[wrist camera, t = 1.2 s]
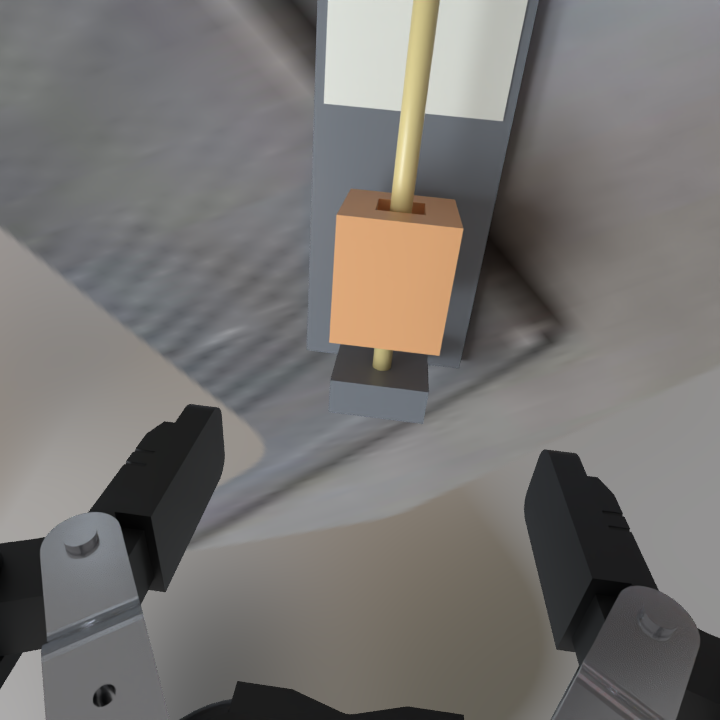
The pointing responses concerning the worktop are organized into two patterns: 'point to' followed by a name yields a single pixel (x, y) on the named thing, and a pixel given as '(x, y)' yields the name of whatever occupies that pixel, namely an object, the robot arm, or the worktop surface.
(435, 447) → the worktop surface
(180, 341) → the worktop surface
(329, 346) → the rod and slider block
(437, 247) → the sleeve
